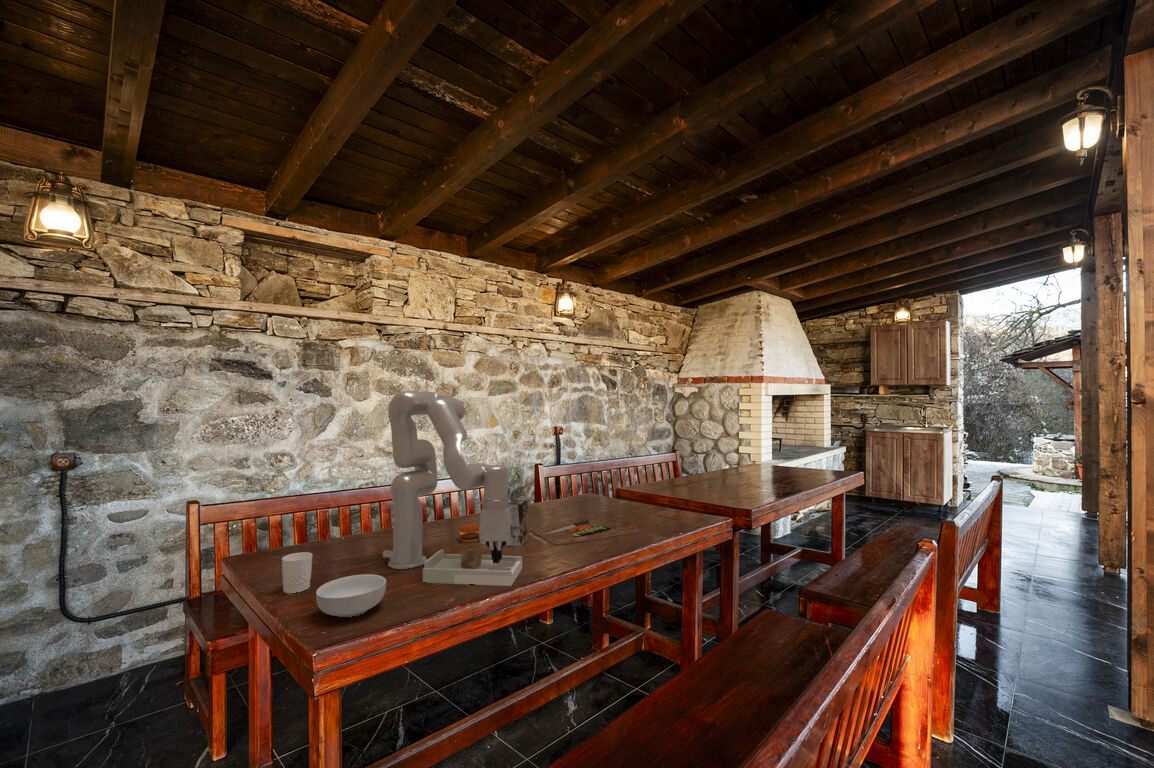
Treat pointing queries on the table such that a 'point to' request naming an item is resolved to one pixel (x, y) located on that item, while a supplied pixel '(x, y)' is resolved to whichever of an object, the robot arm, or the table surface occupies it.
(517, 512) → the coffee box
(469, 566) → the walnut block
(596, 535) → the chopping board
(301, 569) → the white cup
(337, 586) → the cereal bowl
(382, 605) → the table surface
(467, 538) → the hamburger
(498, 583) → the tray
